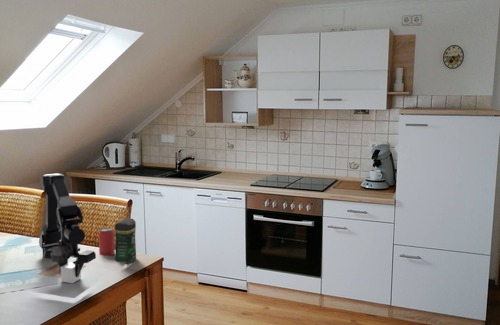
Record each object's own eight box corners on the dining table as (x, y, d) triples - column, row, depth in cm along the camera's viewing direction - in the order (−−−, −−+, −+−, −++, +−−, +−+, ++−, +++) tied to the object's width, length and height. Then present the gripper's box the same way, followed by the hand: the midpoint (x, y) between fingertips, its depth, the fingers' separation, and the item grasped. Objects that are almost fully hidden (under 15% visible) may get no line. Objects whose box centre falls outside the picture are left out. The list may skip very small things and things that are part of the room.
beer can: (110, 258, 201) (109, 232, 199) (96, 256, 202) (95, 230, 200) (117, 253, 207) (116, 227, 206) (104, 251, 209) (103, 226, 207)
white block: (61, 281, 171) (60, 266, 170) (69, 276, 176) (69, 262, 175) (72, 283, 170) (72, 268, 169) (80, 278, 174) (80, 263, 174)
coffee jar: (130, 265, 193) (129, 223, 190) (112, 264, 194) (111, 222, 191) (138, 257, 202) (138, 217, 199) (121, 256, 203) (120, 216, 200)
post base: (37, 277, 179) (37, 266, 178) (59, 265, 191) (59, 255, 190) (66, 281, 175) (65, 270, 175) (86, 269, 188) (86, 259, 187)
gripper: (33, 240, 165) (35, 281, 167) (77, 246, 160) (79, 287, 162) (53, 231, 175) (55, 270, 178) (95, 236, 171) (97, 275, 173)
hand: (71, 276), depth 172 cm, fingers closed on white block, 5 cm apart
